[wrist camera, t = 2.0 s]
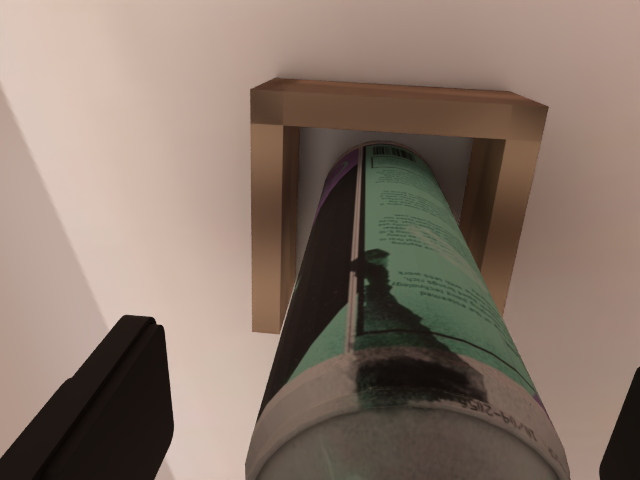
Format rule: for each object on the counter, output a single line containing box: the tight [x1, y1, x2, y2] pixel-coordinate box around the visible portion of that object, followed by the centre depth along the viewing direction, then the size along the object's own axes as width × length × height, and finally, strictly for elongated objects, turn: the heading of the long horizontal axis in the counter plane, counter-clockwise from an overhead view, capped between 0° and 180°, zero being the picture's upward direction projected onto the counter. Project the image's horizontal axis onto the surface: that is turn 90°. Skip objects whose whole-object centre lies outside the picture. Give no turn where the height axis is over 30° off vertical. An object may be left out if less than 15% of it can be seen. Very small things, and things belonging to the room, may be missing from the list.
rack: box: [250, 78, 549, 334], centre depth 22 cm, size 10×10×5 cm
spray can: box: [245, 141, 571, 480], centre depth 15 cm, size 6×6×20 cm
